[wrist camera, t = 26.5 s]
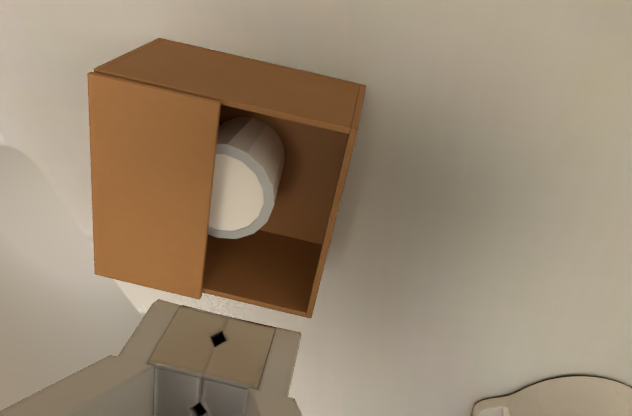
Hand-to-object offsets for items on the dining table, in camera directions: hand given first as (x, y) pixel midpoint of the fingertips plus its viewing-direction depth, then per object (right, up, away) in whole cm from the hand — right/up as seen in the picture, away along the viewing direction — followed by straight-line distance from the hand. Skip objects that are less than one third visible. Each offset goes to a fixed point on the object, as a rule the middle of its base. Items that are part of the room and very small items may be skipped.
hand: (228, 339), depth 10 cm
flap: (-8, +3, +20) cm, 22 cm away
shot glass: (-3, +7, +28) cm, 29 cm away
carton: (-3, +7, +28) cm, 29 cm away
